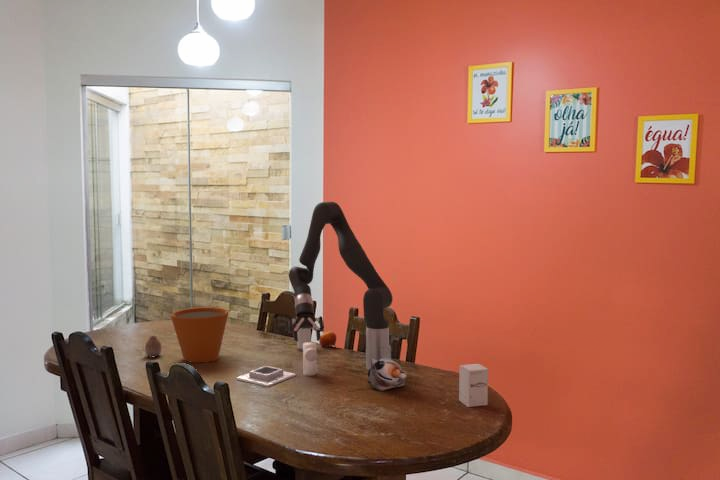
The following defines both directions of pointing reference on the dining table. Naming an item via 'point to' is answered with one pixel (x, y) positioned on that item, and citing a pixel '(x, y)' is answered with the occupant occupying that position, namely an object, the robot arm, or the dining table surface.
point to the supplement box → (473, 385)
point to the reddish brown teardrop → (153, 347)
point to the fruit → (327, 339)
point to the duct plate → (266, 376)
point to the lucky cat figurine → (386, 374)
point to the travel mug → (303, 337)
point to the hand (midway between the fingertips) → (307, 340)
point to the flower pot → (200, 332)
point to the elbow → (309, 358)
